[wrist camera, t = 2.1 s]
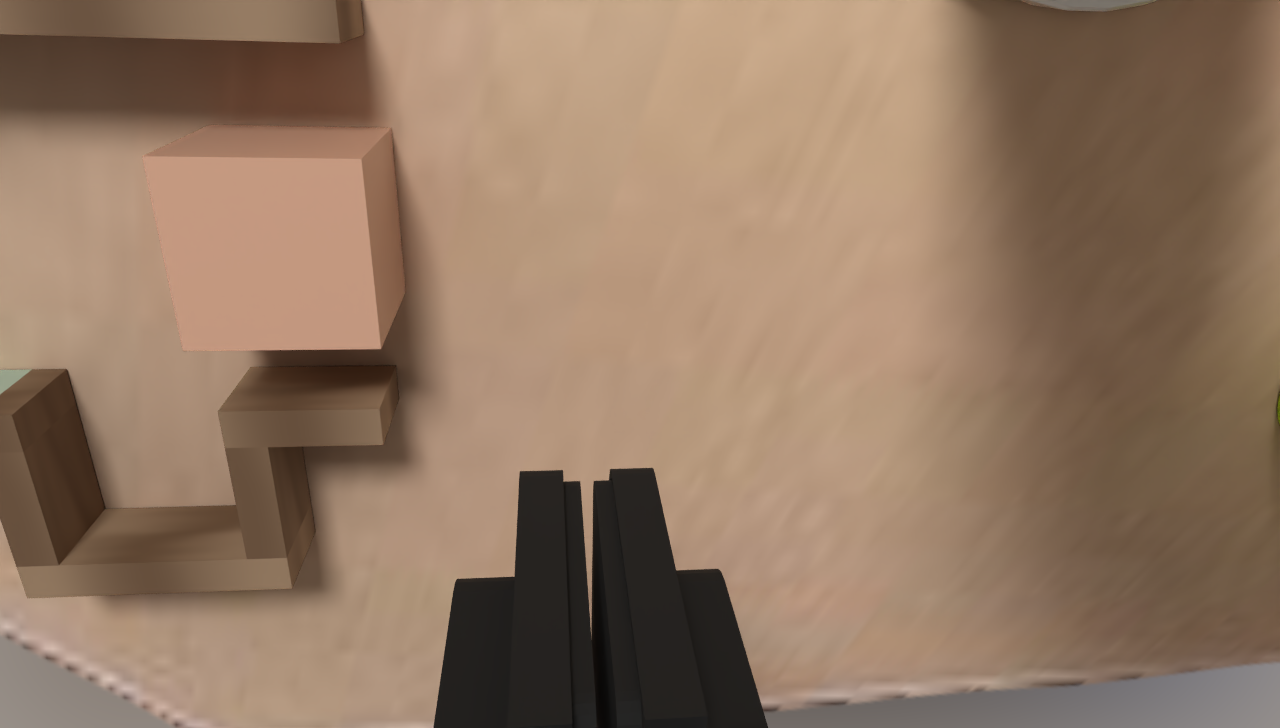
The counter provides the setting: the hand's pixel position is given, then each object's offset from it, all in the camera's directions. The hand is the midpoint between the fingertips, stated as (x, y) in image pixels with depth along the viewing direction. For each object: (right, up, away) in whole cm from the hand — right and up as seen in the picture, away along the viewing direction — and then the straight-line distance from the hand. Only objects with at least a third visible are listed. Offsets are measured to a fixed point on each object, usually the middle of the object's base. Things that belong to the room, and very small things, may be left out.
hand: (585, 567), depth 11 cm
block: (-9, +7, +14) cm, 19 cm away
